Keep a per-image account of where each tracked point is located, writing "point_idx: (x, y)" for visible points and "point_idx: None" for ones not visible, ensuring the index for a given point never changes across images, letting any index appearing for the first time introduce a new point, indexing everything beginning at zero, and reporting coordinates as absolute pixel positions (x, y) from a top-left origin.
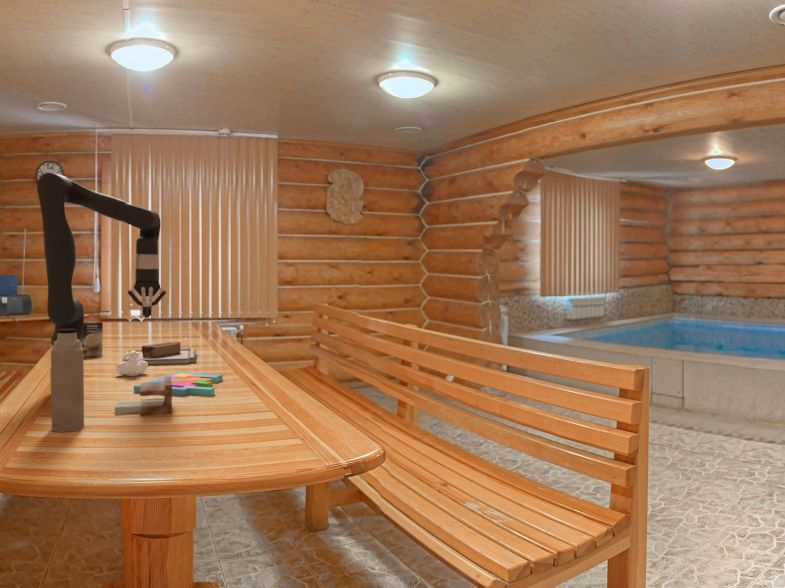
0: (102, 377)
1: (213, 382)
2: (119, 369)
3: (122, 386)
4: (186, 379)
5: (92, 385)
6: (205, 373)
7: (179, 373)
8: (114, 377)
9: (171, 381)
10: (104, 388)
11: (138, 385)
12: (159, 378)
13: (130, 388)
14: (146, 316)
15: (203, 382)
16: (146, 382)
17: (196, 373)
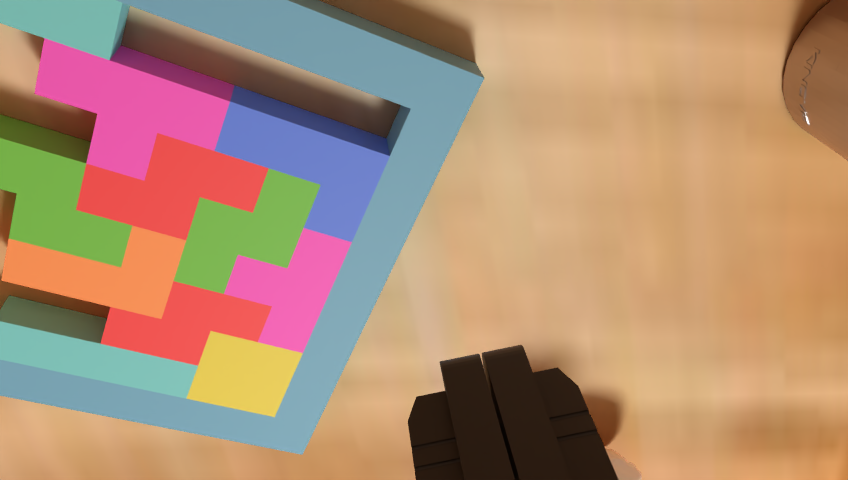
0: (684, 412)
1: (24, 301)
2: (618, 456)
3: (565, 221)
4: (176, 262)
5: (726, 248)
6: (111, 416)
7: (275, 413)
8: (627, 414)
9: (261, 206)
10: (660, 175)
11: (456, 92)
12: (362, 290)
13: (513, 170)
14: (493, 356)
15: (13, 167)
16: (420, 181)
17: (169, 414)
